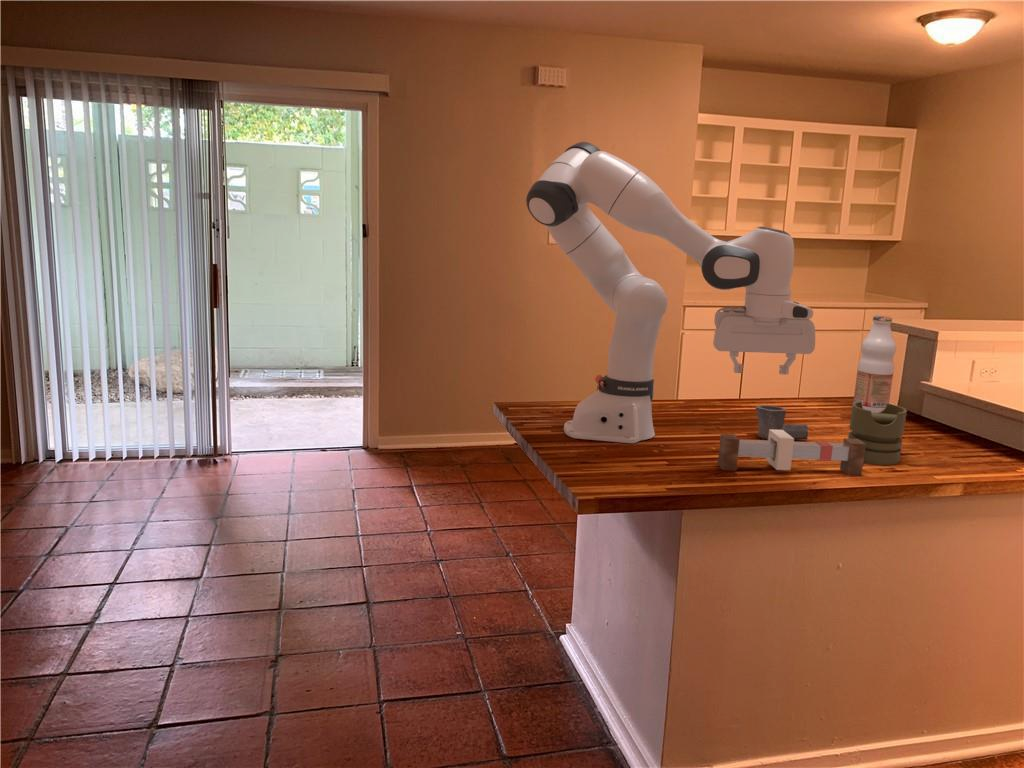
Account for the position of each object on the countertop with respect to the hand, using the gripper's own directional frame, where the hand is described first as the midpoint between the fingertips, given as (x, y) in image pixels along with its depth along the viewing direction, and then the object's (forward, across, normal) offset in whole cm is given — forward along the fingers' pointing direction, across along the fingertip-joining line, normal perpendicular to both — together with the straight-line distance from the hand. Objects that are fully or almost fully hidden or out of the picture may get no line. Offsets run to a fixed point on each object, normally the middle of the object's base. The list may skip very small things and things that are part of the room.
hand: (760, 373), depth 163 cm
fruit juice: (+22, +49, +63) cm, 82 cm away
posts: (+22, +8, +2) cm, 23 cm away
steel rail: (+19, +8, +2) cm, 21 cm away
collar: (+21, +6, +2) cm, 22 cm away
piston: (+22, +31, +15) cm, 41 cm away
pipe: (+22, +13, +27) cm, 37 cm away
